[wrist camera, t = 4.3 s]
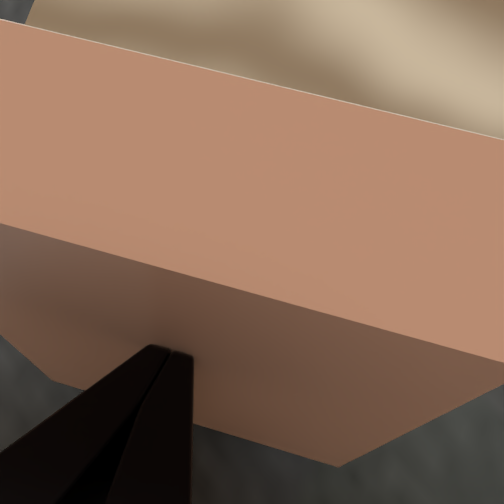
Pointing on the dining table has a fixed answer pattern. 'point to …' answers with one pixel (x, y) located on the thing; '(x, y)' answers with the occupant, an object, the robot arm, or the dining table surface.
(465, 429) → the dining table surface
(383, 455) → the dining table surface
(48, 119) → the tan rectangular block
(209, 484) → the dining table surface
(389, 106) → the board
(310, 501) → the dining table surface
